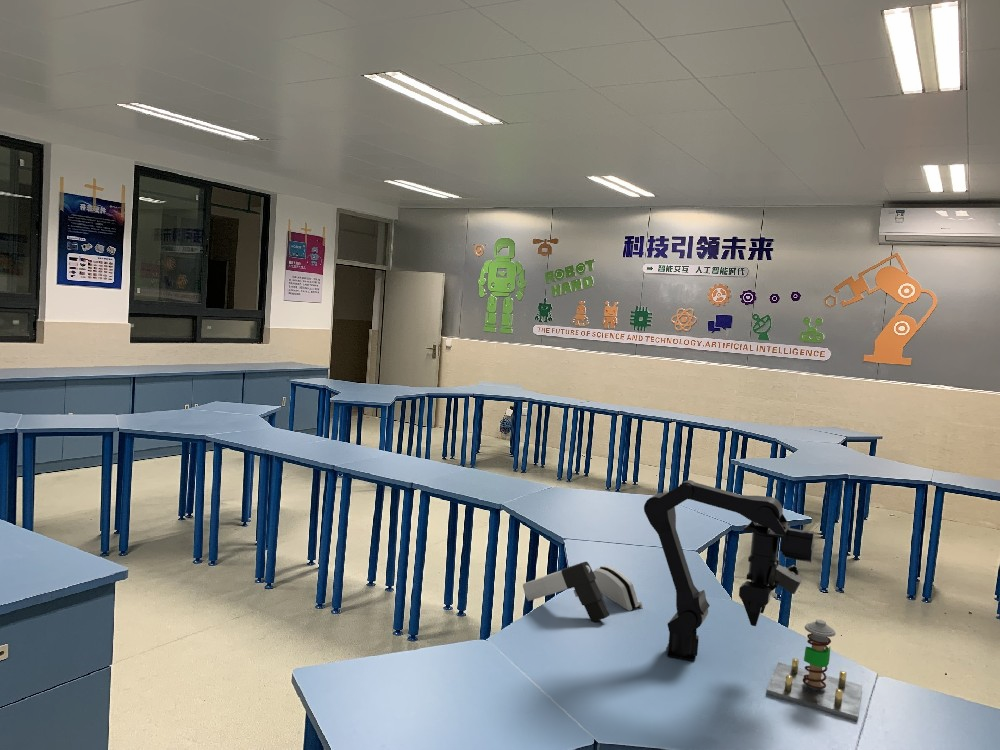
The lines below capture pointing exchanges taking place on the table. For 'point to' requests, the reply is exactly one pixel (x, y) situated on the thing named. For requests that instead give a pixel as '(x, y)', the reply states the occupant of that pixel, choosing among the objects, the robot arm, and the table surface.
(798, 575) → the robot arm
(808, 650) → the shock absorber
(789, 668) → the plate
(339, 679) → the table surface
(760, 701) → the table surface
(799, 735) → the table surface
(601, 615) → the handheld device
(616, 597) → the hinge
